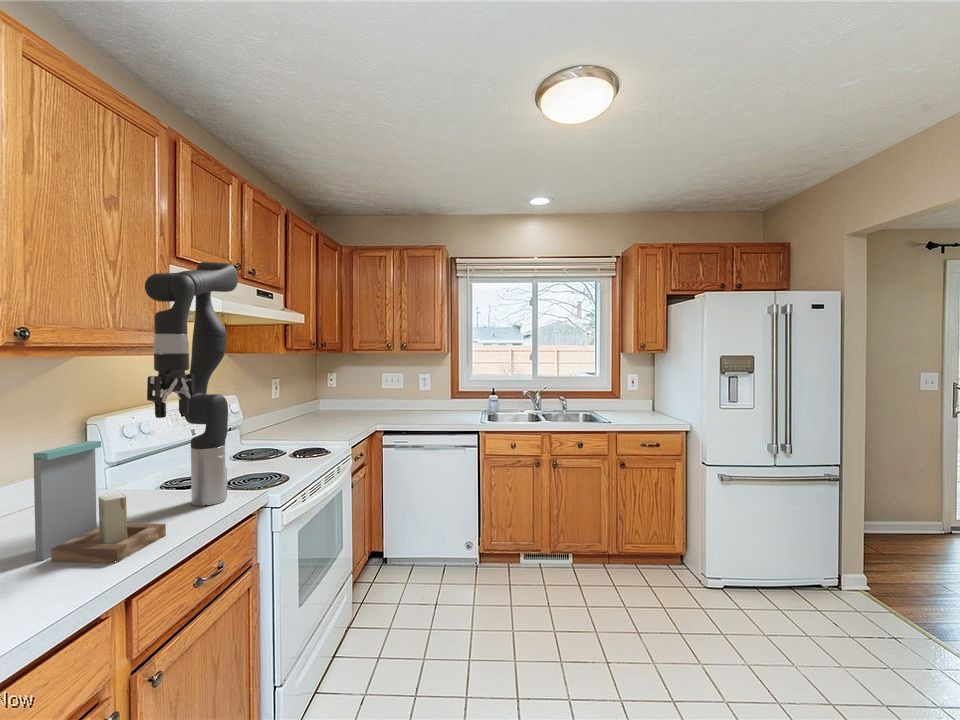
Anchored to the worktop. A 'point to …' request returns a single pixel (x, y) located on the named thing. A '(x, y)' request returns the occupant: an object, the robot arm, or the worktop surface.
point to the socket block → (107, 545)
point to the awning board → (64, 495)
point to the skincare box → (112, 518)
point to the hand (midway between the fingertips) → (172, 415)
